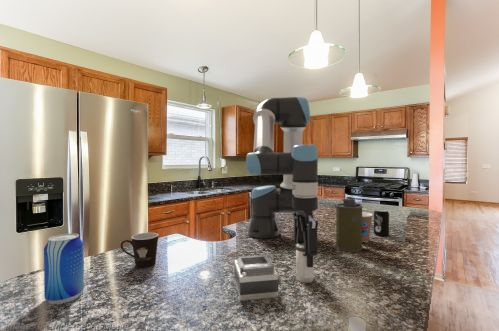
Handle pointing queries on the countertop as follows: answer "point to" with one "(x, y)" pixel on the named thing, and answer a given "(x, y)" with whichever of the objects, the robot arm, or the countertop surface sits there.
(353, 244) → the canister
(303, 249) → the beige and black cylinder
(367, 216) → the coffee cup
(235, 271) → the grey square holder base
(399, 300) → the countertop surface
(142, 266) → the coffee mug
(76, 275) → the beer can
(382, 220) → the beverage can
